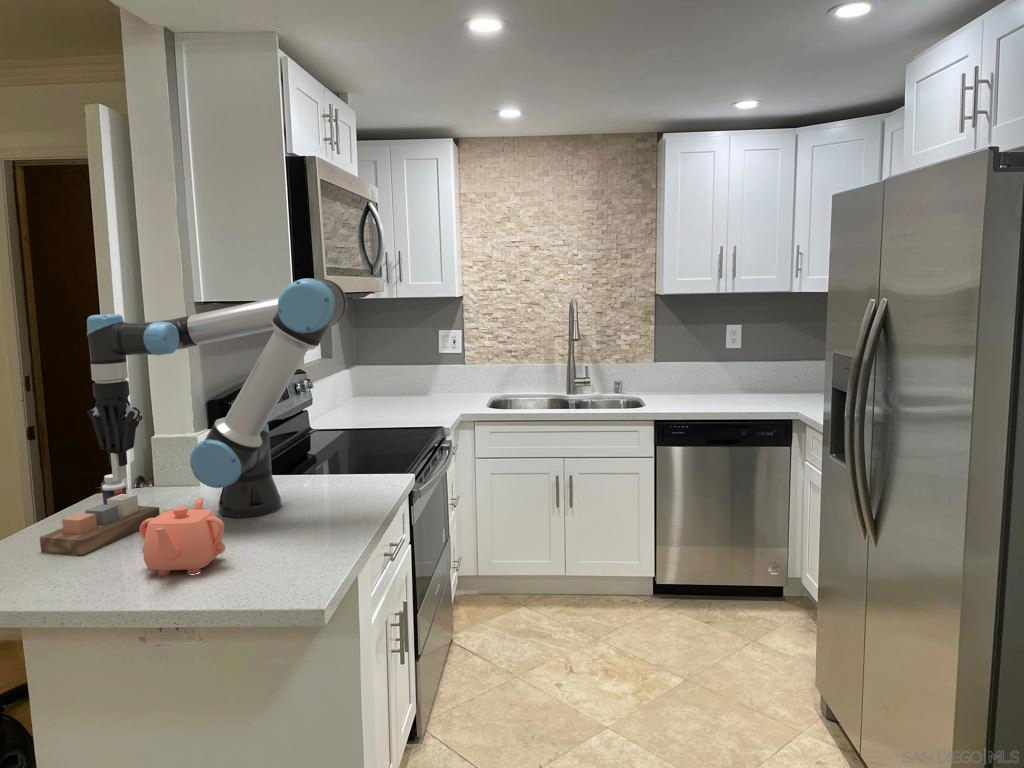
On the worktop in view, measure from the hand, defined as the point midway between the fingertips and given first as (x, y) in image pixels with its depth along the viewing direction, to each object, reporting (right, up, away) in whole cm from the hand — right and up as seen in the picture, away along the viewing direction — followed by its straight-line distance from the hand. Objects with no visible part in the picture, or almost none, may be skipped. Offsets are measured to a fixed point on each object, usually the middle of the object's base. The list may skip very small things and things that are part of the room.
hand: (119, 478), depth 180 cm
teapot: (+26, -15, -25) cm, 39 cm away
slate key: (-1, -11, -5) cm, 12 cm away
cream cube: (0, -9, +1) cm, 10 cm away
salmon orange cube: (-3, -12, -11) cm, 16 cm away
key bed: (-1, -13, -4) cm, 14 cm away
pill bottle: (-8, -10, +14) cm, 19 cm away
